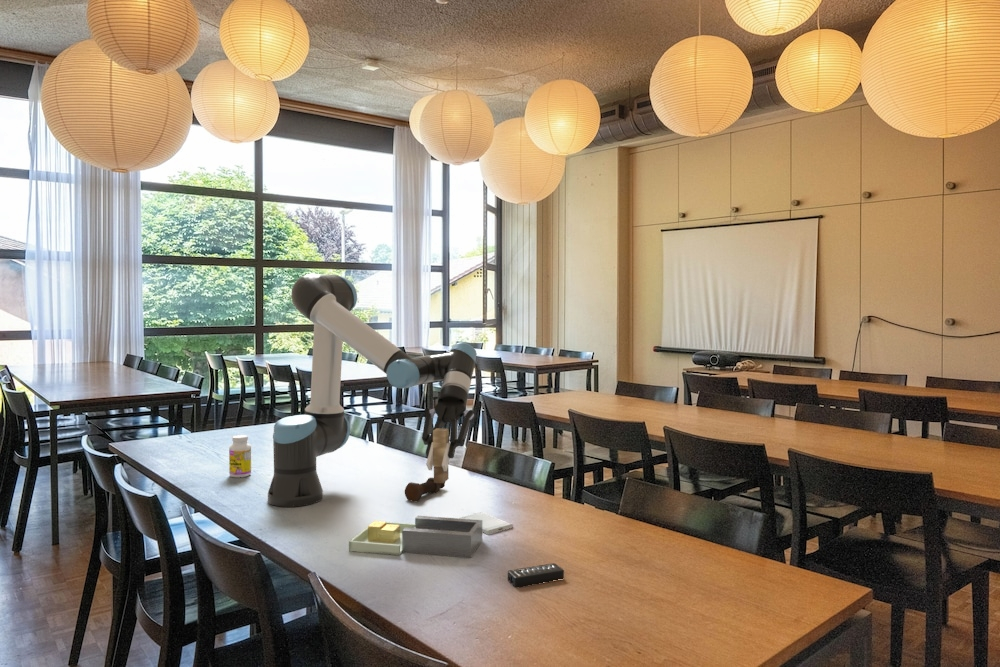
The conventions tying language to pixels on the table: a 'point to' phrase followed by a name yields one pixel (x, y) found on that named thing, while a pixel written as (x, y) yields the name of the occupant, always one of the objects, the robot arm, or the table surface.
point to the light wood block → (375, 530)
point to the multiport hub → (535, 575)
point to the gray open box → (443, 536)
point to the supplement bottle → (240, 457)
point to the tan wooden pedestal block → (439, 454)
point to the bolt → (422, 489)
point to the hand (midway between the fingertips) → (436, 467)
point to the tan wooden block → (389, 533)
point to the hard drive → (489, 522)
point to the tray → (363, 545)
